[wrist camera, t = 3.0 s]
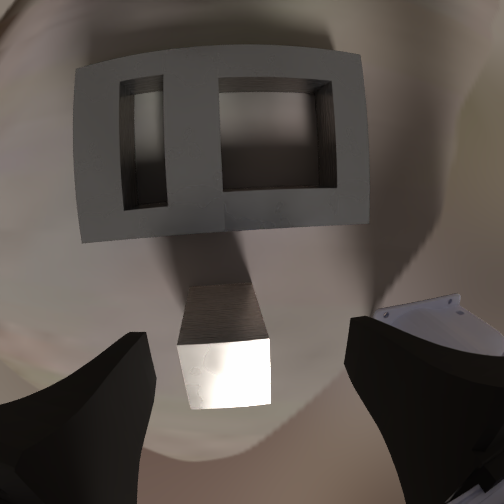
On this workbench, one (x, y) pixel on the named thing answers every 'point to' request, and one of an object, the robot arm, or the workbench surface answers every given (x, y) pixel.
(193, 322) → the block
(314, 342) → the workbench surface
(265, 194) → the socket plate
